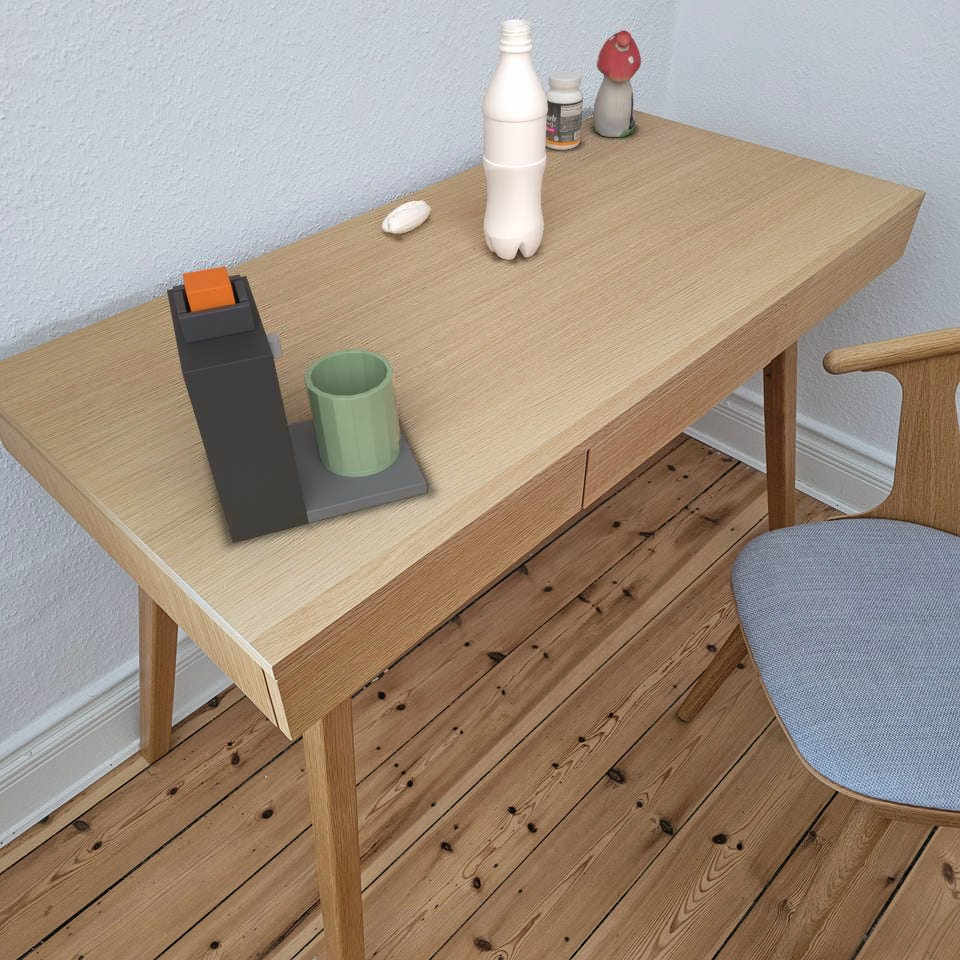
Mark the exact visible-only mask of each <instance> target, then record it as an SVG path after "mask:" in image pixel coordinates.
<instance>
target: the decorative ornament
mask: <svg viewBox="0 0 960 960" xmlns="http://www.w3.org/2000/svg"><path fill="white" fill-rule="evenodd" d="M641 64H642V57H641V53H640V49H639V47H638V44H637V43H636V41H635V39H634V38H633V37H632V34H631V33H630V32H629V31H627V30H625V29H624V30H620V31H618V32H616V33H614V34H612V35H611V36H610V37H608V39H606V41H605V42H604V43H603V45H602V47H601V49H600V51H599V52H598V56H597V59H596V69H597V70H598V71H599V72H600V73H601V74H602V75H603V79H602V81H601V83H600V86H599V88H598V91H597V94H596V97H595V100H594V105H593V114H592V119H593V127H594V130H595V132H596V133H597V134H598V135H600V136H602V137H608V138H624V137H627V136H629V135H631V134H633V133H634V131H635V128H636V127H635V126H636V119H637V117H636V114H635V112H634V94H633V93H634V92H633V91H634V90H633V87H632V84H631V83H632V82H631V79H632V78H633V77H634V75H635V74H636V73H637V72H638V71H639V69H640V68H641Z"/></svg>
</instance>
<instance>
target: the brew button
mask: <svg viewBox="0 0 960 960" xmlns="http://www.w3.org/2000/svg"><path fill="white" fill-rule="evenodd" d="M181 275H182V279H183V284H184V285H185V289H186V294H187V297H188V301H189V305H190V308H191V312H194V311H200V310H205V309H210V308H216V307H221V306H226V305H232V304H236V303H235V299H234V295H233V291H232V286H231V283H230V280H229V276H230V275H229V274H228V269H227V267H226V266H219V267H212V268H208V269H201V270H195V271H190V272H184V273H182V274H181Z"/></svg>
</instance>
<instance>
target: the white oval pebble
mask: <svg viewBox="0 0 960 960" xmlns="http://www.w3.org/2000/svg"><path fill="white" fill-rule="evenodd" d="M431 210H432V208H431V206H430V205H429V204H428V203H426V202H425V201H424V200H423V199H419V200H412V201H408V202H405V203H402V204H401V205H398V206H397V207H395V208H394V209H393V210H391V212H389V213H388V214H387V215H386V216H385V218H384V219H383V220H382V223H381V229H382V231H383V232H385V233H390V234H393V235H394V234H395V235H400V234H404V233H407V232H410V231H413V230H414V229H416V228H418V227H419V226H421V225H422V224H423V223H424V222H425V221H426V220H427V219H428V217H429V215H430V214H431Z"/></svg>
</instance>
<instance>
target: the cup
mask: <svg viewBox="0 0 960 960" xmlns="http://www.w3.org/2000/svg"><path fill="white" fill-rule="evenodd" d="M303 379H304V381H303V382H304V385H305V387H304V388H305V391H306V397H307V402H308V408H309V413H310V418H311V419H312V424H313V429H314V435H315V440H316V446H317V450H318V453H319V458H320V461H321V463H322V464H323V466H324V467H325V468H326V469H328V470H329V471H331V472H333V473H335V474H338V475H341V476H347V477H363V476H369V475H373V474H376V473H379V472H381V471H383V470H385V469H386V468H388V467H389V466H391V465H392V464H393V463H394V462H395V461H396V459H397V458H398V456H399V454H400V451H401V445H400V442H401V438H400V429H401V428H399V427H400V419H399V410H398V409H399V407H398V399H397V390H396V381H395V370H394V367H393V365H392V363H391V361H390V359H388V358H386V357H385V356H384V355H382V354H381V353H379V352H375V351H372V350H367V349H360V348H358V349H357V348H355V349H353V348H352V349H351V348H350V349H341V350H337V351H333V352H330V353H327V354H325V355H323V356H321V357H319V358H317V359H315V360H314V361H313V362H312V363H311V364H310V365H309V366H308V367H307V368H306V371H305V374H304V376H303ZM311 419H310V420H311Z"/></svg>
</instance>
